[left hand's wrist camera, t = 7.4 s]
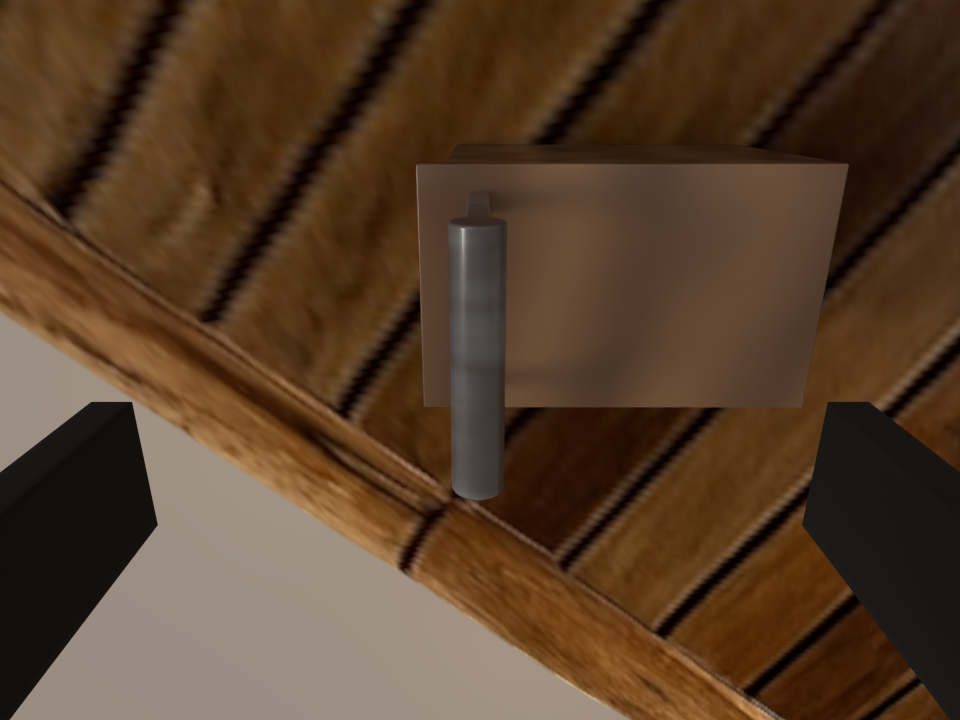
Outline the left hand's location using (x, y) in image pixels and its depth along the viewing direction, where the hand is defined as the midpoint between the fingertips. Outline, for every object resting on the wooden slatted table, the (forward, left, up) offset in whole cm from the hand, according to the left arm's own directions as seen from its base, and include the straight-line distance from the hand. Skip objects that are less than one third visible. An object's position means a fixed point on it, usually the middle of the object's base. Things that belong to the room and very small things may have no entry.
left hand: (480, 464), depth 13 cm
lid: (-3, +4, -13) cm, 14 cm away
